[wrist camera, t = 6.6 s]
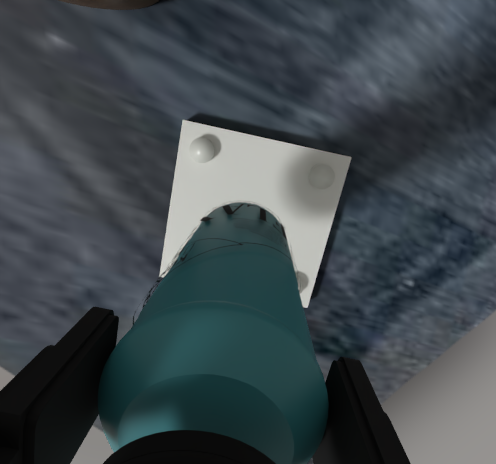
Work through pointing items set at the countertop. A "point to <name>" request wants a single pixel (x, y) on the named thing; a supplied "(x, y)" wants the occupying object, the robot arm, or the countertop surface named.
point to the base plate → (256, 190)
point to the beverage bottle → (218, 355)
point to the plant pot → (113, 3)
